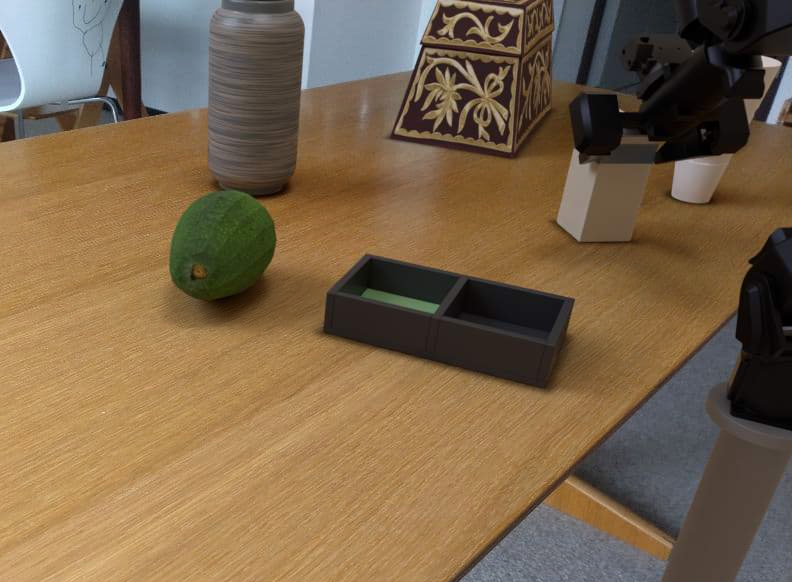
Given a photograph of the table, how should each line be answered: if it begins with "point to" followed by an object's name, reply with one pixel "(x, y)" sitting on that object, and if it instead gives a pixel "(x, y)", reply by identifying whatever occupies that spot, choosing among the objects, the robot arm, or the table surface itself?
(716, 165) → the cup
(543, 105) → the decorative box
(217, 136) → the vase
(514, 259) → the table surface
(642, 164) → the milk carton
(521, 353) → the tray
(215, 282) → the fruit
